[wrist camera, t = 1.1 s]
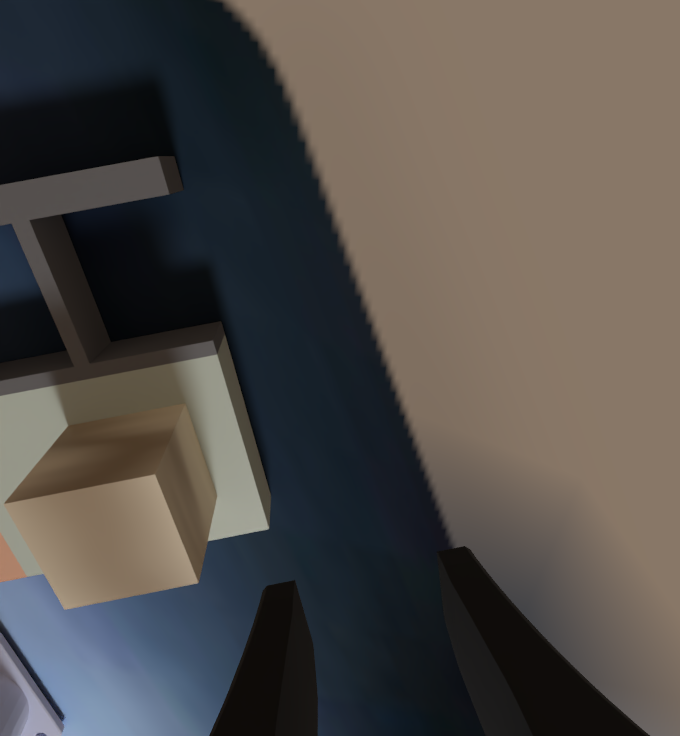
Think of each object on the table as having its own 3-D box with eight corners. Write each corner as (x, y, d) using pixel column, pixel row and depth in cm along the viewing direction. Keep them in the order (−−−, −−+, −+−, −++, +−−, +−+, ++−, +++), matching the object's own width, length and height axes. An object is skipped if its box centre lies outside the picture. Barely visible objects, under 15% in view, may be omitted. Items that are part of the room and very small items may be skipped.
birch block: (110, 517, 18) (64, 609, 14) (68, 425, 16) (3, 504, 13) (217, 496, 18) (198, 583, 14) (185, 402, 16) (154, 474, 13)
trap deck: (-67, 562, 20) (-102, 602, 18) (-293, 241, 15) (-375, 253, 13) (271, 495, 21) (269, 529, 19) (174, 156, 15) (158, 155, 13)
